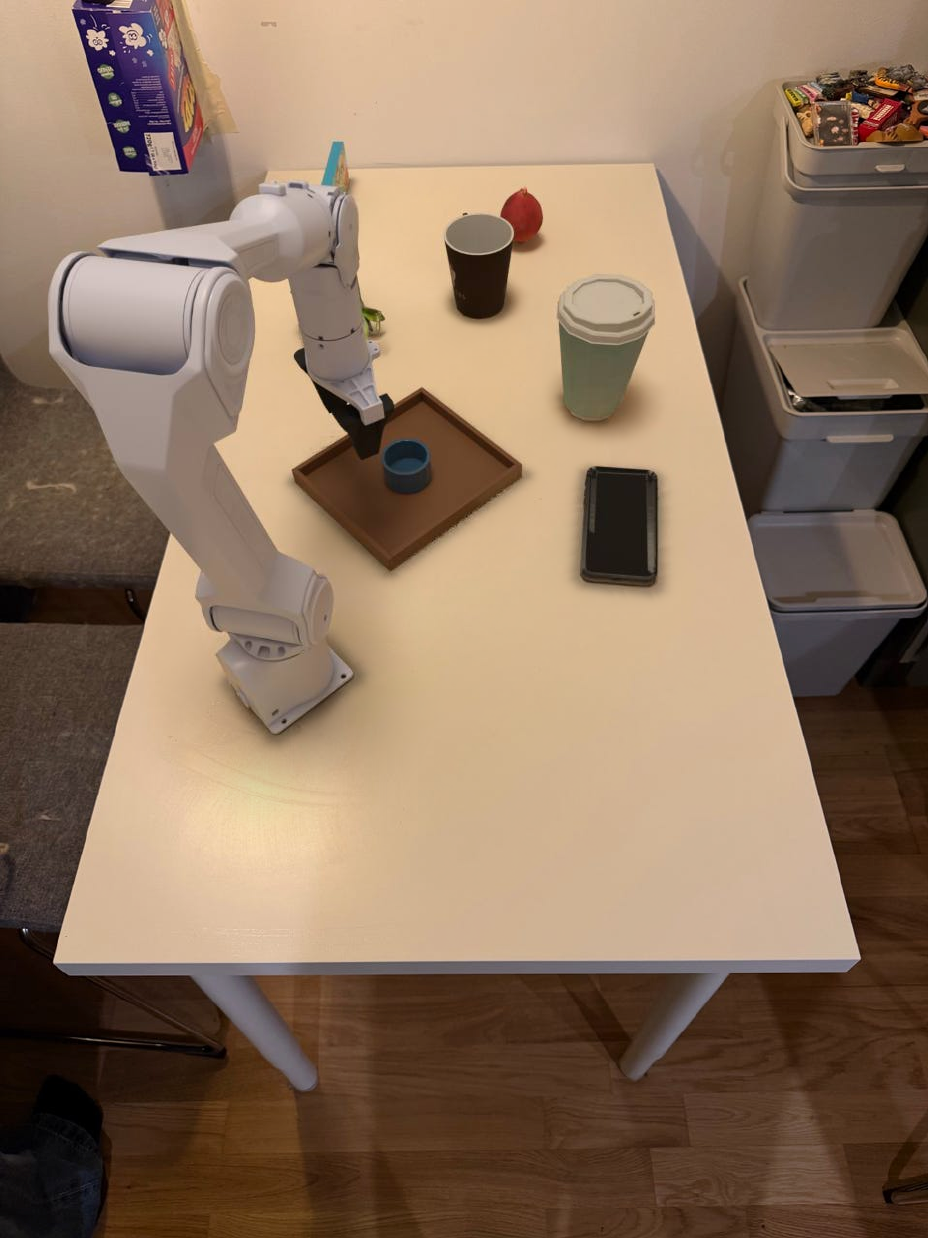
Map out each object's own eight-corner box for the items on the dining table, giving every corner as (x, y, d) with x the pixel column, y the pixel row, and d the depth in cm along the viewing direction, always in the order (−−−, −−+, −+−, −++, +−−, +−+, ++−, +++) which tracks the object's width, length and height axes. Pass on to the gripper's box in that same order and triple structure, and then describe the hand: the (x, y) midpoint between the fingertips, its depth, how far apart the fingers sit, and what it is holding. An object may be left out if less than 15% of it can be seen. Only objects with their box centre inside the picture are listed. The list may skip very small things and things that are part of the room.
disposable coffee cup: (530, 399, 101) (535, 291, 88) (595, 359, 104) (609, 250, 92) (591, 448, 96) (605, 341, 84) (657, 405, 100) (680, 296, 87)
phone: (657, 470, 93) (657, 580, 85) (656, 477, 94) (655, 587, 86) (586, 465, 93) (579, 574, 85) (585, 472, 94) (578, 580, 86)
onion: (495, 251, 117) (495, 195, 110) (506, 227, 120) (507, 172, 113) (535, 257, 116) (538, 202, 109) (545, 233, 119) (549, 177, 112)
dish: (405, 502, 92) (402, 482, 90) (374, 475, 95) (371, 455, 92) (442, 476, 94) (440, 456, 91) (411, 450, 96) (408, 430, 94)
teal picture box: (339, 181, 128) (333, 139, 122) (349, 181, 128) (343, 139, 122) (327, 227, 121) (320, 186, 116) (338, 228, 121) (331, 186, 116)
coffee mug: (506, 327, 108) (507, 257, 100) (441, 320, 109) (436, 251, 101) (521, 272, 114) (523, 202, 106) (459, 266, 115) (456, 196, 107)
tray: (390, 571, 88) (388, 559, 86) (294, 481, 95) (291, 469, 93) (522, 476, 94) (522, 464, 93) (423, 399, 102) (421, 386, 100)
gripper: (408, 350, 72) (419, 460, 84) (337, 262, 79) (357, 375, 91) (333, 380, 70) (356, 488, 82) (268, 287, 77) (297, 399, 89)
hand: (352, 430), depth 86 cm, fingers open, 7 cm apart
